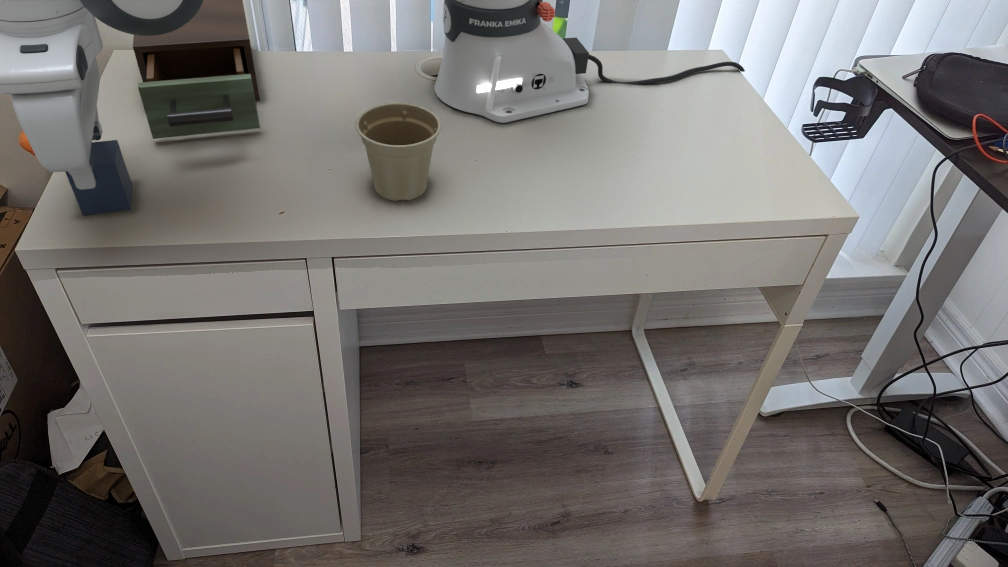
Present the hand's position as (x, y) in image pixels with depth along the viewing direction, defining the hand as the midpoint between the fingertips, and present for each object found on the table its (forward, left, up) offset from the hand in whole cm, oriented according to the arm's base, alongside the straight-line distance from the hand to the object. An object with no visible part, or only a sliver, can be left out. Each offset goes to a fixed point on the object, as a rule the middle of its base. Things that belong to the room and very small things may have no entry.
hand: (91, 160), depth 77 cm
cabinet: (-11, -28, -5) cm, 30 cm away
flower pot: (-32, +4, -6) cm, 33 cm away
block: (0, 0, -5) cm, 5 cm away
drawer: (-11, -16, -4) cm, 20 cm away
